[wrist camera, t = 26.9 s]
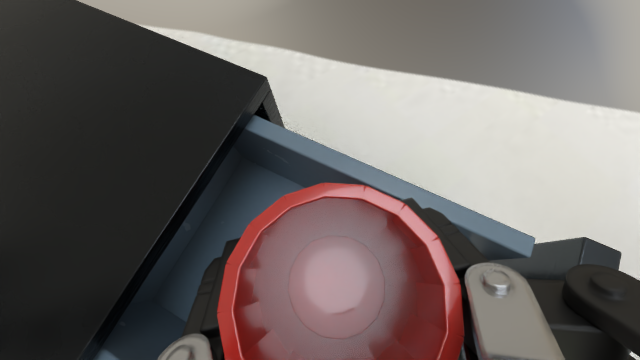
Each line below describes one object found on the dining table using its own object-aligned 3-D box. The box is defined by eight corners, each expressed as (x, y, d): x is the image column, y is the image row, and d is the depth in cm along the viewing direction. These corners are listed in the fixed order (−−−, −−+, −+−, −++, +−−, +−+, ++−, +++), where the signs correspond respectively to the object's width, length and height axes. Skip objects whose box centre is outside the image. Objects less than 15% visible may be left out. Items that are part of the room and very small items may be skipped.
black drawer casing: (296, 158, 19) (266, 76, 11) (184, 352, 16) (26, 436, 8) (103, 70, 23) (-24, -41, 15) (-22, 212, 20) (-279, 169, 11)
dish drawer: (615, 310, 15) (834, 341, 8) (563, 601, 11) (858, 1029, 5) (250, 142, 19) (206, 75, 13) (138, 316, 16) (4, 346, 9)
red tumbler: (363, 369, 12) (408, 520, 5) (262, 309, 13) (169, 356, 6) (407, 259, 14) (495, 243, 6) (313, 212, 15) (291, 150, 7)
